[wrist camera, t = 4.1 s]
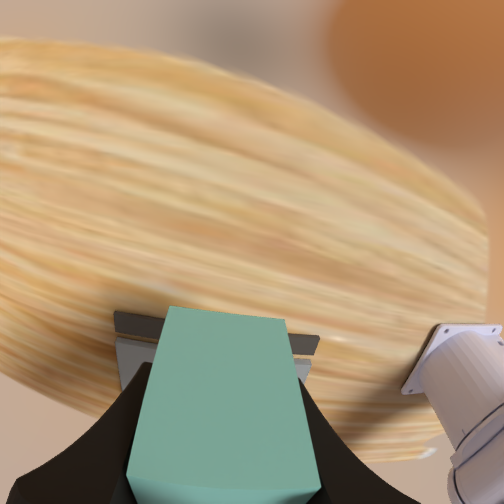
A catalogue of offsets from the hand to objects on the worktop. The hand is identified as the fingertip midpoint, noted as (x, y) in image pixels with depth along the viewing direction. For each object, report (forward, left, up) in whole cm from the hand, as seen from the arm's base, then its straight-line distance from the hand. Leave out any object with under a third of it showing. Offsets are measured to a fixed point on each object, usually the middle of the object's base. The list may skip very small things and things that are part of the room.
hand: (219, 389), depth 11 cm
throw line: (0, +4, -9) cm, 10 cm away
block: (0, 0, -2) cm, 2 cm away
